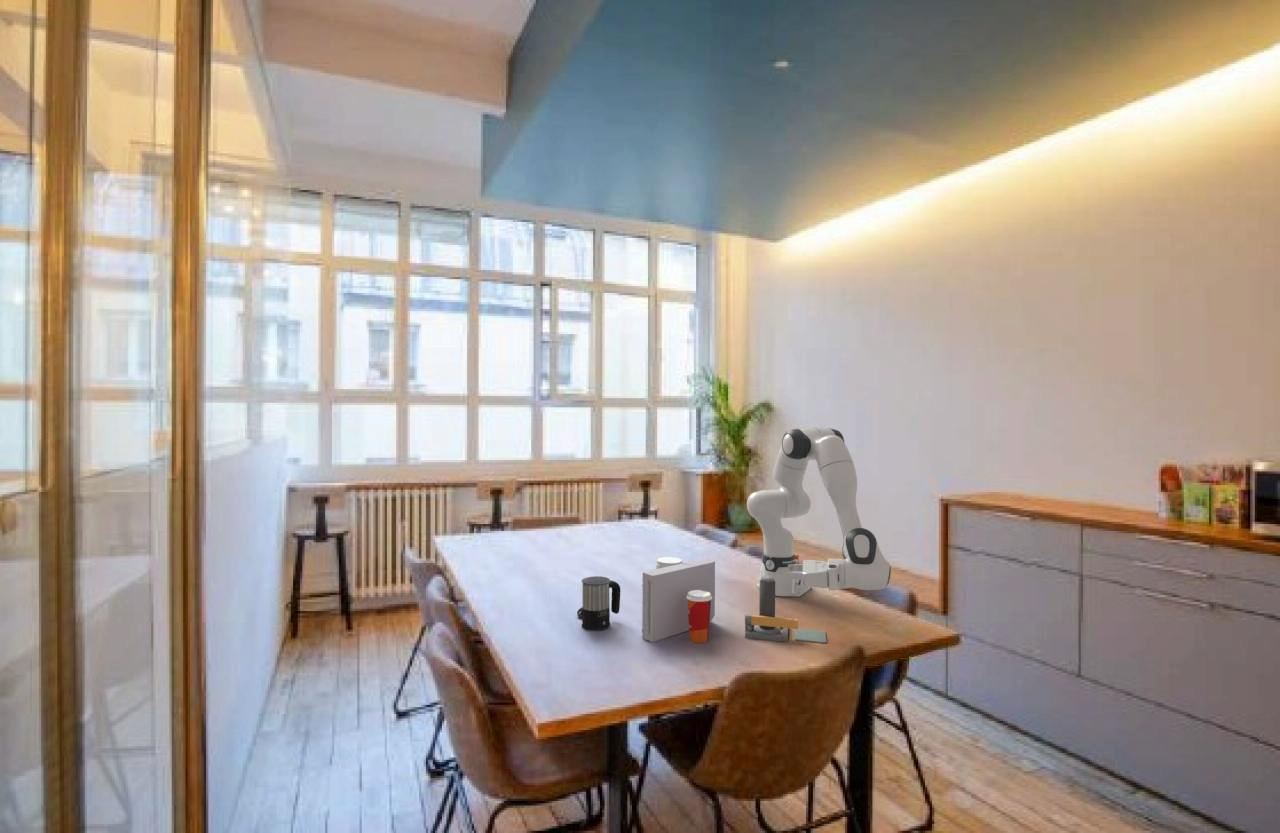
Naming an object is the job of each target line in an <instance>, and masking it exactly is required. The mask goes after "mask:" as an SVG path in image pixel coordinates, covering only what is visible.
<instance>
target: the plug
mask: <svg viewBox="0 0 1280 833" xmlns="http://www.w3.org/2000/svg"><path fill="white" fill-rule="evenodd" d="M758 603H759V604H758V605H759V609H758V610H759V613H758V616H769V617H776V596H775V581H774V578H773V577H770V576H762V577H761V580H760V590H759V602H758ZM753 632H759V633H769V634H780V635H781V628H780V627H771V626H760V625H754V626H753Z"/></svg>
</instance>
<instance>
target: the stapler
mask: <svg viewBox="0 0 1280 833" xmlns="http://www.w3.org/2000/svg"><path fill="white" fill-rule="evenodd" d="M798 620H799V619H798V618H795V617H794V618H791V617H790V618H789V617H779V616H775V617H769V616H759V614H758V615H756V614H750V613H747V614H744V625H745V624H746V625H760V626H771V627H781V628H780V629H783V628H788V629H791V630H795V629H799V628H798V627H799V626H798V625H799V621H798Z"/></svg>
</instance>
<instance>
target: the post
mask: <svg viewBox="0 0 1280 833" xmlns="http://www.w3.org/2000/svg"><path fill="white" fill-rule="evenodd" d="M745 631H751V632H753V627H752V625H746V624H745V623H744V632H745Z"/></svg>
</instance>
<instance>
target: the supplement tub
mask: <svg viewBox="0 0 1280 833" xmlns="http://www.w3.org/2000/svg"><path fill="white" fill-rule="evenodd" d="M682 563H683V559H681V558H679V557H673V556H663V557H658V558H657V560H656V567H655V569H659V568H664V567H668V566H673V565H678V564H682Z"/></svg>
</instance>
